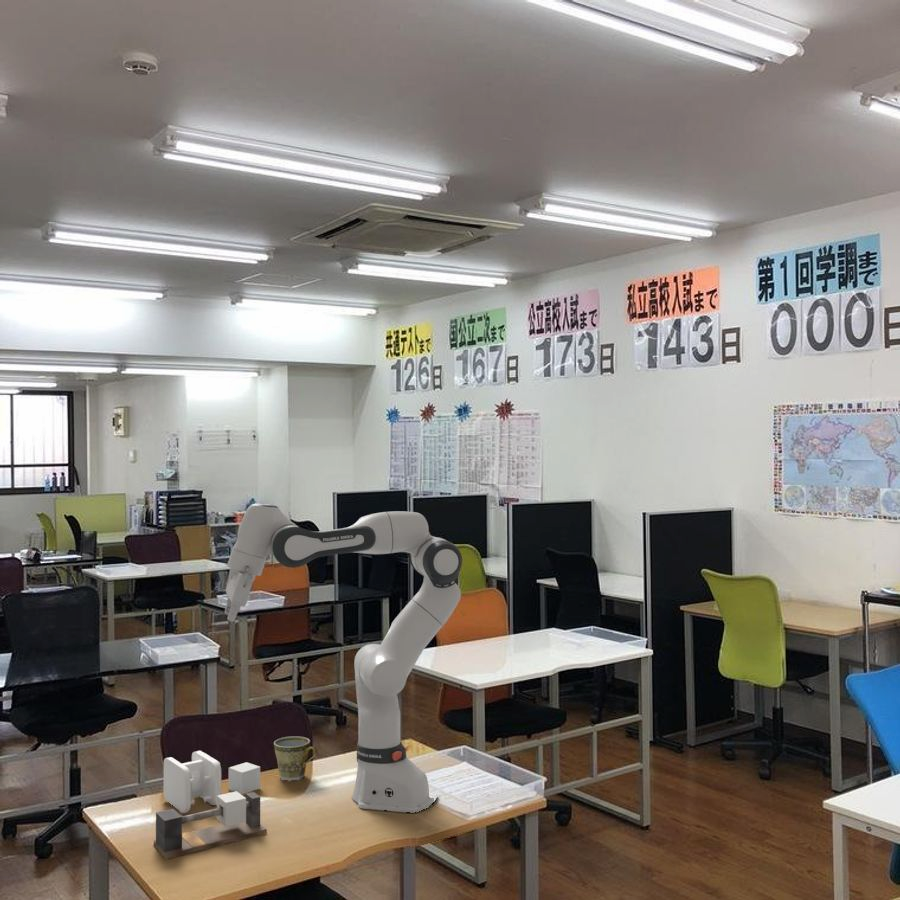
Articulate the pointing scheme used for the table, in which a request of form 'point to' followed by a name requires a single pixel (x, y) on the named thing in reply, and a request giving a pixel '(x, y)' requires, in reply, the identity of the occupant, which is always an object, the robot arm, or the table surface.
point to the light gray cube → (244, 778)
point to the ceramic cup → (292, 756)
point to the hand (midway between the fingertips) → (229, 617)
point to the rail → (180, 843)
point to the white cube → (232, 808)
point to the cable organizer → (191, 780)
